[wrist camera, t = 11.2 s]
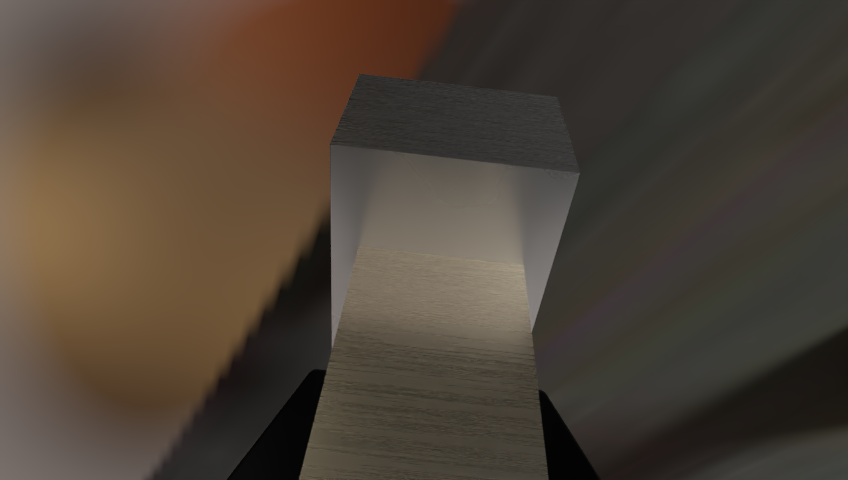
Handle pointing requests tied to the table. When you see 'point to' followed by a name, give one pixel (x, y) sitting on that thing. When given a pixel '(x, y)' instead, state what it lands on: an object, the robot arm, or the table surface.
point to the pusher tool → (439, 281)
